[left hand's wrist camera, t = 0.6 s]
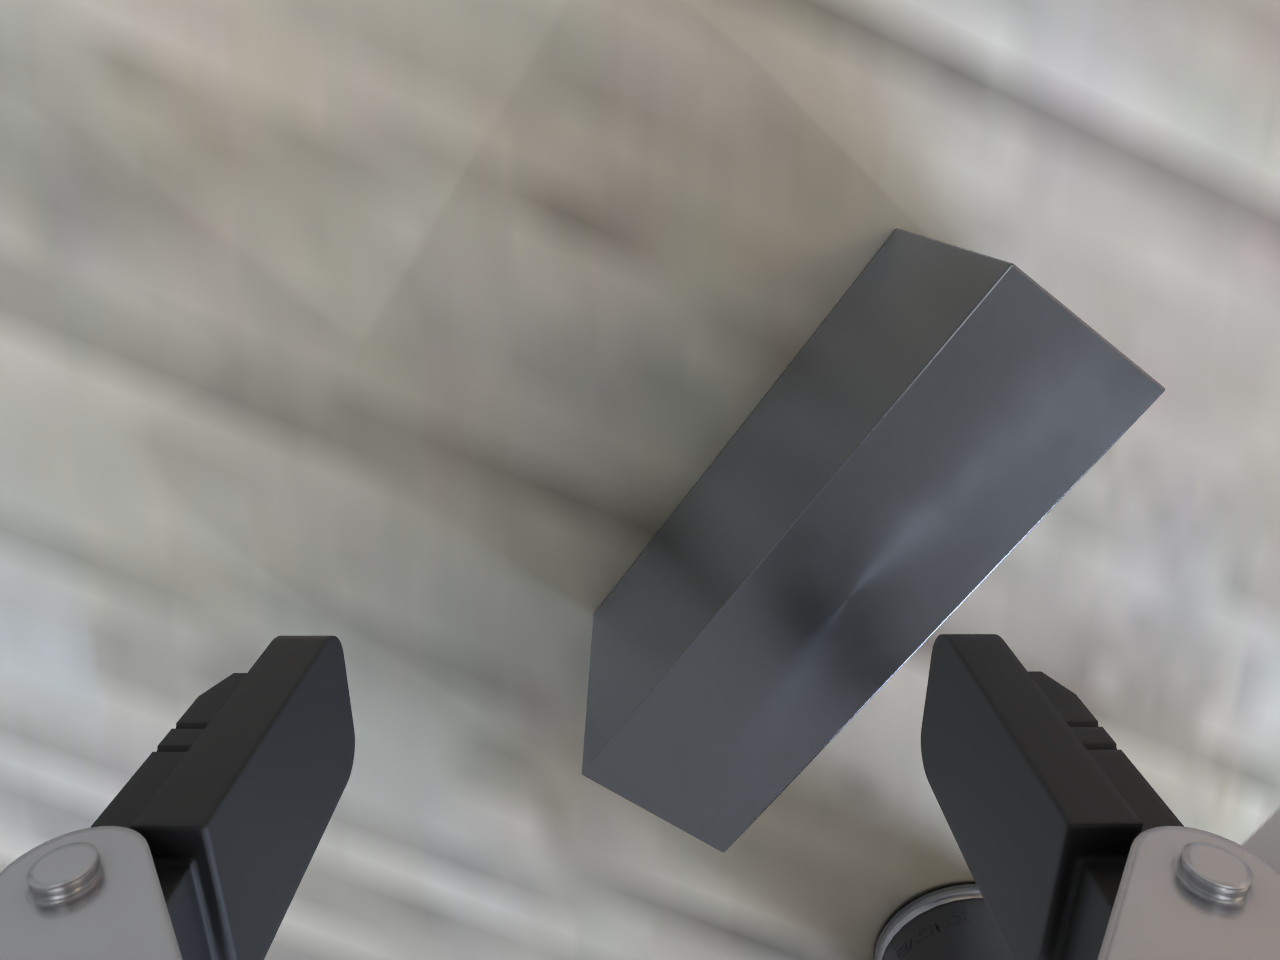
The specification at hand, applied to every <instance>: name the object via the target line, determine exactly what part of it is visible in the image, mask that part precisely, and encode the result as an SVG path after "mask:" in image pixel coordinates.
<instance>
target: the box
mask: <svg viewBox="0 0 1280 960" xmlns="http://www.w3.org/2000/svg"><path fill="white" fill-rule="evenodd" d="M1164 391H1165V388H1164V387H1163V386H1161V385H1160V384H1159V383H1158V382H1157V381H1155V380H1154V379H1153V378H1152V377H1151V376H1149V375H1148V374H1147V373H1146V372H1144V371H1143V370H1142V369H1141V368H1140V367H1138V366H1137V365H1136V364H1135V363H1133V362H1132V361H1131V360H1130V359H1129V358H1127V357H1126V356H1125V355H1124V354H1123V353H1121V352H1120V351H1119V350H1118V349H1116V348H1115V347H1114V346H1113V345H1112V344H1110V343H1109V342H1108V341H1107V340H1105V339H1104V338H1103V337H1102V336H1101V335H1099V334H1098V333H1097V332H1096V331H1094V330H1093V329H1092V328H1091V327H1090V326H1088V325H1087V324H1086V323H1085V322H1084V321H1082V320H1081V319H1080V318H1079V317H1077V316H1076V315H1075V314H1074V313H1073V312H1071V311H1070V310H1069V309H1068V308H1066V307H1065V306H1064V305H1063V304H1062V303H1060V302H1059V301H1058V300H1057V299H1056V298H1054V297H1053V296H1052V295H1051V294H1049V293H1048V292H1047V291H1046V290H1045V289H1043V288H1042V287H1041V286H1040V285H1038V284H1037V283H1036V282H1035V281H1034V280H1032V279H1031V278H1030V277H1029V276H1028V275H1026V274H1025V273H1024V272H1023V271H1021V270H1020V269H1019V268H1018V267H1017V266H1015V265H1014V264H1012V263H1009V262H1006V261H1003V260H999V259H996V258H993V257H989V256H986V255H983V254H980V253H976V252H973V251H970V250H966V249H963V248H960V247H957V246H953V245H950V244H947V243H943V242H940V241H937V240H934V239H930V238H927V237H924V236H920V235H917V234H914V233H911V232H907V231H904V230H901V229H896V230H895V231H894V232H893V233H892V235H891V236H890V237H889V239H888V240H887V241H886V242H885V244H884V245H883V246H882V247H881V249H880V250H879V251H878V253H877V254H876V255H875V256H874V258H873V259H872V260H871V261H870V263H869V264H868V265H867V267H866V268H865V269H864V270H863V272H862V273H861V274H860V275H859V277H858V278H857V279H856V281H855V282H854V283H853V284H852V286H851V287H850V288H849V290H848V291H847V292H846V293H845V295H844V296H843V297H842V298H841V300H840V301H839V302H838V304H837V305H836V306H835V307H834V309H833V310H832V311H831V312H830V314H829V315H828V316H827V318H826V319H825V320H824V321H823V323H822V324H821V325H820V326H819V328H818V329H817V330H816V332H815V333H814V334H813V335H812V337H811V338H810V339H809V340H808V342H807V343H806V344H805V346H804V347H803V348H802V349H801V351H800V352H799V353H798V354H797V356H796V357H795V358H794V360H793V361H792V362H791V363H790V365H789V366H788V367H787V368H786V370H785V371H784V372H783V374H782V375H781V376H780V377H779V379H778V380H777V381H776V382H775V384H774V385H773V386H772V388H771V389H770V390H769V391H768V393H767V394H766V395H765V397H764V398H763V399H762V400H761V402H760V403H759V404H758V405H757V407H756V408H755V409H754V411H753V412H752V413H751V414H750V416H749V417H748V418H747V419H746V421H745V422H744V423H743V425H742V426H741V427H740V428H739V430H738V431H737V432H736V433H735V435H734V436H733V437H732V439H731V440H730V441H729V442H728V444H727V445H726V446H725V447H724V449H723V450H722V451H721V453H720V454H719V455H718V456H717V458H716V459H715V460H714V461H713V463H712V464H711V465H710V467H709V468H708V469H707V470H706V472H705V473H704V474H703V475H702V477H701V478H700V479H699V481H698V482H697V483H696V484H695V486H694V487H693V488H692V489H691V491H690V492H689V493H688V495H687V496H686V497H685V498H684V500H683V501H682V502H681V504H680V505H679V506H678V507H677V509H676V510H675V511H674V512H673V514H672V515H671V516H670V518H669V519H668V520H667V521H666V523H665V524H664V525H663V526H662V528H661V529H660V530H659V532H658V533H657V534H656V535H655V537H654V538H653V539H652V540H651V542H650V543H649V544H648V546H647V547H646V548H645V549H644V551H643V552H642V553H641V554H640V556H639V557H638V558H637V560H636V561H635V562H634V563H633V565H632V566H631V567H630V568H629V570H628V571H627V572H626V574H625V575H624V576H623V577H622V579H621V580H620V581H619V582H618V584H617V585H616V586H615V588H614V589H613V590H612V591H611V593H610V594H609V595H608V596H607V598H606V599H605V600H604V602H603V603H602V604H601V605H600V607H599V608H598V609H597V611H596V612H595V613H594V618H593V632H592V645H591V658H590V671H589V685H588V698H587V711H586V725H585V738H584V751H583V764H582V774H583V775H584V776H586V777H588V778H590V779H591V780H593V781H595V782H597V783H599V784H601V785H602V786H604V787H606V788H608V789H610V790H611V791H613V792H615V793H617V794H619V795H620V796H622V797H624V798H626V799H628V800H629V801H631V802H633V803H635V804H637V805H638V806H640V807H642V808H644V809H646V810H647V811H649V812H651V813H653V814H655V815H656V816H658V817H660V818H662V819H664V820H665V821H667V822H669V823H671V824H673V825H674V826H676V827H678V828H680V829H682V830H683V831H685V832H687V833H689V834H691V835H692V836H694V837H696V838H698V839H700V840H702V841H703V842H705V843H707V844H709V845H711V846H712V847H714V848H716V849H718V850H720V851H721V852H725V851H726V850H727V849H728V848H729V847H730V846H731V845H732V844H733V843H734V842H735V841H736V840H737V838H738V837H739V836H740V835H741V834H742V833H743V832H744V831H745V830H746V829H747V828H748V827H749V826H750V825H751V824H752V823H753V822H754V821H755V820H756V819H757V817H758V816H759V815H760V814H761V813H762V812H763V811H764V810H765V809H766V808H767V807H768V806H769V805H770V804H771V803H772V802H773V801H774V800H775V799H776V798H777V797H778V795H779V794H780V793H781V792H782V791H783V790H784V789H785V788H786V787H787V786H788V785H789V784H790V783H791V782H792V781H793V780H794V779H795V778H796V777H797V776H798V775H799V773H800V772H801V771H802V770H803V769H804V768H805V767H806V766H807V765H808V764H809V763H810V762H811V761H812V760H813V759H814V758H815V757H816V756H817V755H818V754H819V752H820V751H821V750H822V749H823V748H824V747H825V746H826V745H827V744H828V743H829V742H830V741H831V740H832V739H833V738H834V737H835V736H836V735H837V734H838V733H839V732H840V730H841V729H842V728H843V727H844V726H845V725H846V724H847V723H848V722H849V721H850V720H851V719H852V718H853V717H854V716H855V715H856V714H857V713H858V712H859V711H860V710H861V708H862V707H863V706H864V705H865V704H866V703H867V702H868V701H869V700H870V699H871V698H872V697H873V696H874V695H875V694H876V693H877V692H878V691H879V690H880V689H881V687H882V686H883V685H884V684H885V683H886V682H887V681H888V680H889V679H890V678H891V677H892V676H893V675H894V674H895V673H896V672H897V671H898V670H899V669H900V668H901V667H902V665H903V664H904V663H905V662H906V661H907V660H908V659H909V658H910V657H911V656H912V655H913V654H914V653H915V652H916V651H917V650H918V649H919V648H920V647H921V646H922V645H923V643H924V642H925V641H926V640H927V639H928V638H929V637H930V636H931V635H932V634H933V633H934V632H935V631H936V630H937V629H938V628H939V627H940V626H941V625H942V624H943V622H944V621H945V620H946V619H947V618H948V617H949V616H950V615H951V614H952V613H953V612H954V611H955V610H956V609H957V608H958V607H959V606H960V605H961V604H962V603H963V602H964V600H965V599H966V598H967V597H968V596H969V595H970V594H971V593H972V592H973V591H974V590H975V589H976V588H977V587H978V586H979V585H980V584H981V583H982V582H983V581H984V580H985V578H986V577H987V576H988V575H989V574H990V573H991V572H992V571H993V570H994V569H995V568H996V567H997V566H998V565H999V564H1000V563H1001V562H1002V561H1003V560H1004V559H1005V557H1006V556H1007V555H1008V554H1009V553H1010V552H1011V551H1012V550H1013V549H1014V548H1015V547H1016V546H1017V545H1018V544H1019V543H1020V542H1021V541H1022V540H1023V539H1024V538H1025V537H1026V535H1027V534H1028V533H1029V532H1030V531H1031V530H1032V529H1033V528H1034V527H1035V526H1036V525H1037V524H1038V523H1039V522H1040V521H1041V520H1042V519H1043V518H1044V517H1045V516H1046V515H1047V513H1048V512H1049V511H1050V510H1051V509H1052V508H1053V507H1054V506H1055V505H1056V504H1057V503H1058V502H1059V501H1060V500H1061V499H1062V498H1063V497H1064V496H1065V495H1066V494H1067V492H1068V491H1069V490H1070V489H1071V488H1072V487H1073V486H1074V485H1075V484H1076V483H1077V482H1078V481H1079V480H1080V479H1081V478H1082V477H1083V476H1084V475H1085V474H1086V473H1087V472H1088V470H1089V469H1090V468H1091V467H1092V466H1093V465H1094V464H1095V463H1096V462H1097V461H1098V460H1099V459H1100V458H1101V457H1102V456H1103V455H1104V454H1105V453H1106V452H1107V451H1108V450H1109V448H1110V447H1111V446H1112V445H1113V444H1114V443H1115V442H1116V441H1117V440H1118V439H1119V438H1120V437H1121V436H1122V435H1123V434H1124V433H1125V432H1126V431H1127V430H1128V429H1129V427H1130V426H1131V425H1132V424H1133V423H1134V422H1135V421H1136V420H1137V419H1138V418H1139V417H1140V416H1141V415H1142V414H1143V413H1144V412H1145V411H1146V410H1147V409H1148V408H1149V407H1150V405H1151V404H1152V403H1153V402H1154V401H1155V400H1156V399H1157V398H1158V397H1159V396H1160V395H1161V394H1162V393H1163V392H1164Z"/></svg>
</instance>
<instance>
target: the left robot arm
mask: <svg viewBox="0 0 1280 960" xmlns="http://www.w3.org/2000/svg"><path fill="white" fill-rule="evenodd" d="M354 750H355V734H354V726H353V719H352V711H351V704H350V697H349V690H348V683H347V675H346V668H345V661H344V654H343V649H342V645H341V643H340V641H339V639H338V638H337V637H336V636H278V637H276V638H275V639H274V640H273V641H272V642H271V643H270V644H269V646H268V647H267V648H266V650H265V651H264V652H263V654H262V655H261V656H260V657H259V659H258V660H257V661H256V663H255V664H254V665H253V667H252V668H251V669H250V670H249V672H248V673H233V674H232V675H230V676H229V677H227V678H226V679H224V680H223V681H221V682H220V683H218V684H217V685H215V686H214V687H212V688H211V689H209V690H208V691H206V692H205V693H203V694H202V695H200V696H199V697H198V698H197V699H196V700H195V701H194V703H193V704H192V705H191V706H190V708H189V709H188V710H187V711H186V712H185V714H184V715H183V716H182V717H181V718H180V720H179V721H178V722H177V723H176V729H171V731H170V732H169V733H168V734H167V735H166V737H165V738H164V739H163V740H162V741H161V743H160V744H159V745H158V750H157V752H152V753H151V755H150V756H149V757H148V758H147V760H146V761H145V762H144V763H143V764H142V766H141V767H140V768H139V769H138V770H137V772H136V773H135V774H134V775H133V776H132V778H131V779H130V780H129V781H128V782H127V784H126V785H125V786H124V787H123V789H122V790H121V791H120V792H119V793H118V795H117V796H116V797H115V798H114V799H113V801H112V802H111V803H110V804H109V805H108V807H107V808H106V809H105V810H104V811H103V813H102V814H101V815H100V816H99V818H98V819H97V820H96V821H95V822H94V824H93V825H92V826H91V827H90V828H86V829H81V830H77V831H73V832H70V833H67V834H64V835H61V836H59V837H56V838H54V839H52V840H49V841H47V842H45V843H43V844H41V845H39V846H37V847H35V848H33V849H32V850H30V851H28V852H27V853H25V854H24V855H22V856H20V857H19V858H18V859H16V860H15V861H14V862H12V863H11V864H10V865H8V866H7V867H6V868H5V869H4V870H3V871H2V872H1V873H0V960H264V958H265V956H266V954H267V952H268V950H269V947H270V945H271V943H272V941H273V939H274V937H275V935H276V933H277V931H278V928H279V926H280V924H281V922H282V920H283V918H284V916H285V914H286V911H287V909H288V907H289V905H290V903H291V901H292V899H293V897H294V895H295V892H296V890H297V888H298V886H299V884H300V882H301V880H302V878H303V875H304V873H305V871H306V869H307V867H308V865H309V863H310V861H311V859H312V856H313V854H314V852H315V850H316V848H317V846H318V844H319V842H320V840H321V837H322V835H323V833H324V831H325V829H326V827H327V825H328V823H329V820H330V818H331V816H332V814H333V812H334V810H335V808H336V806H337V804H338V801H339V799H340V797H341V795H342V793H343V791H344V789H345V787H346V784H347V782H348V780H349V777H350V774H351V770H352V765H353V759H354ZM921 751H922V760H923V765H924V769H925V773H926V776H927V779H928V781H929V784H930V786H931V788H932V790H933V792H934V794H935V796H936V799H937V801H938V803H939V805H940V807H941V809H942V811H943V814H944V816H945V818H946V820H947V822H948V824H949V826H950V829H951V831H952V833H953V835H954V837H955V839H956V841H957V844H958V846H959V848H960V850H961V852H962V854H963V856H964V859H965V861H966V863H967V865H968V867H969V869H970V871H971V874H972V876H973V878H974V880H975V882H976V884H964V885H956V886H951V887H946V888H943V889H939V890H936V891H933V892H931V893H928V894H926V895H924V896H921V897H920V898H918V899H916V900H914V901H912V902H911V903H909V904H908V905H906V906H905V907H904V908H902V909H901V910H900V911H899V912H898V913H896V914H895V915H894V916H893V917H892V919H891V920H890V921H889V922H888V923H887V925H886V926H885V927H884V929H883V931H882V932H881V934H880V936H879V938H878V941H877V944H876V949H875V960H1280V873H1279V872H1278V871H1277V870H1276V869H1275V868H1274V867H1273V866H1272V865H1270V864H1269V863H1268V862H1266V861H1265V860H1264V859H1262V858H1261V857H1260V856H1258V855H1256V854H1255V853H1253V852H1252V851H1250V850H1248V849H1247V848H1245V847H1243V846H1241V845H1239V844H1237V843H1235V842H1233V841H1231V840H1228V839H1226V838H1224V837H1221V836H1219V835H1216V834H1213V833H1210V832H1207V831H1203V830H1199V829H1194V828H1189V827H1184V826H1183V825H1182V823H1181V822H1180V821H1179V820H1178V819H1177V817H1176V816H1175V815H1174V814H1173V813H1172V811H1171V810H1170V809H1169V808H1168V806H1167V805H1166V804H1165V803H1164V802H1163V800H1162V799H1161V798H1160V797H1159V795H1158V794H1157V793H1156V792H1155V791H1154V789H1153V788H1152V787H1151V786H1150V784H1149V783H1148V782H1147V781H1146V780H1145V778H1144V777H1143V776H1142V775H1141V773H1140V772H1139V771H1138V770H1137V769H1136V767H1135V766H1134V765H1133V764H1132V762H1131V761H1130V760H1129V759H1128V758H1127V756H1126V755H1125V754H1124V753H1123V752H1122V750H1117V748H1116V743H1115V742H1114V741H1113V739H1112V738H1111V737H1110V736H1109V734H1108V733H1107V732H1106V731H1105V730H1104V728H1103V727H1099V726H1098V721H1097V720H1096V719H1095V717H1094V716H1093V715H1092V714H1091V712H1090V711H1089V710H1088V709H1087V708H1086V706H1085V705H1084V704H1083V703H1082V702H1081V700H1080V699H1079V698H1078V697H1077V695H1076V694H1074V693H1073V692H1071V691H1070V690H1068V689H1067V688H1065V687H1064V686H1062V685H1061V684H1059V683H1058V682H1056V681H1055V680H1053V679H1052V678H1050V677H1049V676H1047V675H1046V674H1044V673H1043V672H1027V670H1026V669H1025V668H1024V667H1023V665H1022V664H1021V663H1020V661H1019V660H1018V659H1017V657H1016V656H1015V655H1014V653H1013V652H1012V651H1011V649H1010V648H1009V647H1008V646H1007V644H1006V643H1005V642H1004V640H1003V639H1002V638H1001V637H1000V636H998V635H995V634H941V635H939V636H938V637H937V638H936V640H935V642H934V646H933V650H932V656H931V664H930V671H929V678H928V686H927V693H926V700H925V707H924V715H923V722H922V730H921Z"/></svg>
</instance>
